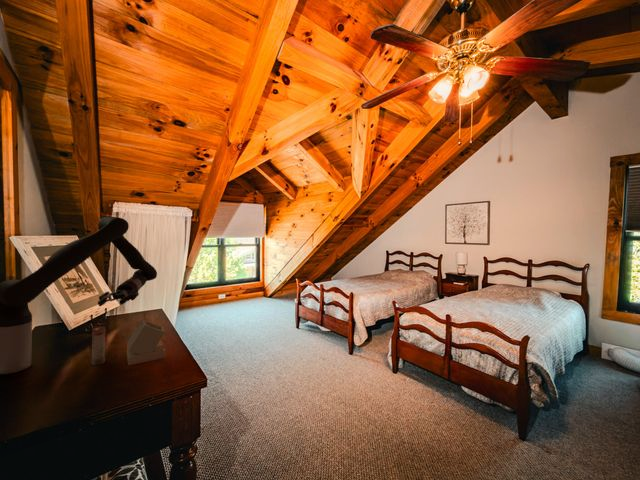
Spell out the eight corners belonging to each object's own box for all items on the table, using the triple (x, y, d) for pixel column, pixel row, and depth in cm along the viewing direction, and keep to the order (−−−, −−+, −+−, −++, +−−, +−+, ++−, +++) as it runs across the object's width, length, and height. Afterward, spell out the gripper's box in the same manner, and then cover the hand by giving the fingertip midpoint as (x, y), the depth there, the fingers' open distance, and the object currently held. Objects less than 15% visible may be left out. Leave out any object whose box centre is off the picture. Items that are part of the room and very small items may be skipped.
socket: (128, 365, 110) (129, 328, 110) (126, 355, 119) (127, 320, 119) (165, 357, 118) (166, 323, 118) (161, 348, 127) (162, 316, 127)
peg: (91, 366, 108) (92, 330, 108) (91, 362, 112) (92, 327, 111) (104, 363, 111) (105, 328, 111) (104, 359, 114) (105, 325, 114)
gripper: (112, 281, 134) (90, 296, 118) (144, 279, 136) (126, 294, 120) (115, 295, 136) (93, 312, 120) (146, 293, 138) (129, 310, 122)
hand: (110, 303), depth 120 cm, fingers open, 8 cm apart
